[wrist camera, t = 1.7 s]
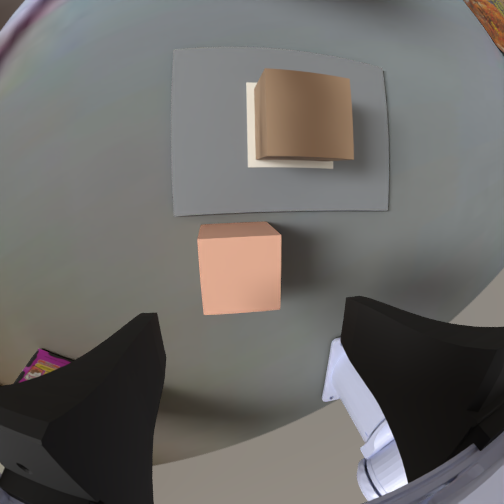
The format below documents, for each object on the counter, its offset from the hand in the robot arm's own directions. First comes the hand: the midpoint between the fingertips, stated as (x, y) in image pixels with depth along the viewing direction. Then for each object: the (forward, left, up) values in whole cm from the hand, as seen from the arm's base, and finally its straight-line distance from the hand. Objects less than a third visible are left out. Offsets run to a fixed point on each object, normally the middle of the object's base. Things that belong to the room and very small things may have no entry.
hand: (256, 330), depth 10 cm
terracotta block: (0, 0, -10) cm, 10 cm away
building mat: (-4, -9, -10) cm, 14 cm away
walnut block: (-4, -9, -10) cm, 14 cm away
